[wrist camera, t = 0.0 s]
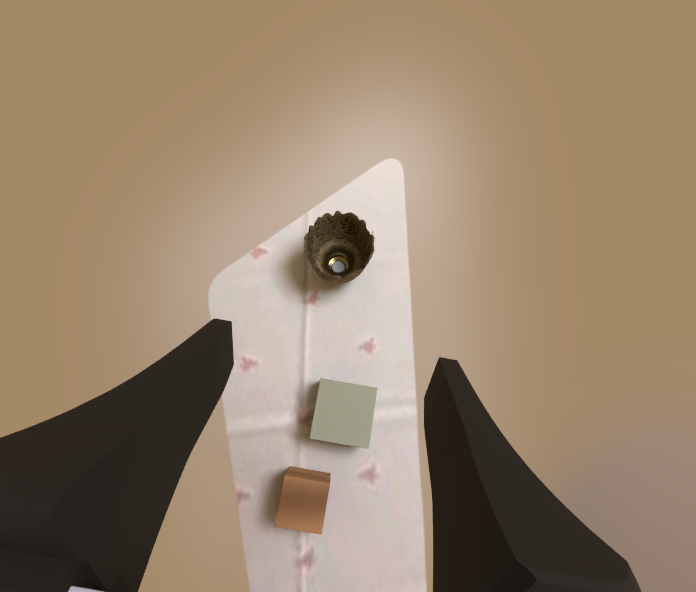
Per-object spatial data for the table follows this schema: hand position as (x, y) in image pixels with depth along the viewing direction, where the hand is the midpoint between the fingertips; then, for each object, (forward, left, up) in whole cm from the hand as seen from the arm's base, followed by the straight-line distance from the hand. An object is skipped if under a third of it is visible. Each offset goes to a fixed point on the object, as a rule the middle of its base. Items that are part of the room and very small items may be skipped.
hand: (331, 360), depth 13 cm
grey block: (-3, -2, -32) cm, 33 cm away
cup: (+14, +2, -32) cm, 36 cm away
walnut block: (-12, +1, -32) cm, 34 cm away
